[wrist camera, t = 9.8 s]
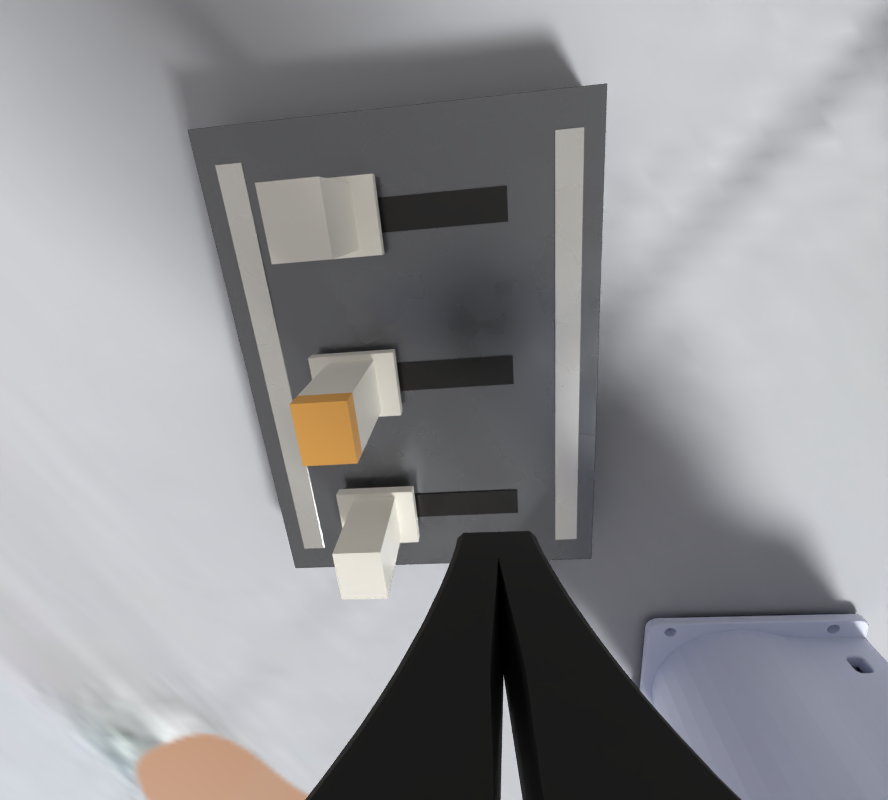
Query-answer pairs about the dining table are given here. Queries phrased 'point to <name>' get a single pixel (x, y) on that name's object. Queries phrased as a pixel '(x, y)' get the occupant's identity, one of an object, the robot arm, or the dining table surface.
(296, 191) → the block
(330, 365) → the breaker mid
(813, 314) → the dining table surface
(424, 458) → the panel
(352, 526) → the breaker far
